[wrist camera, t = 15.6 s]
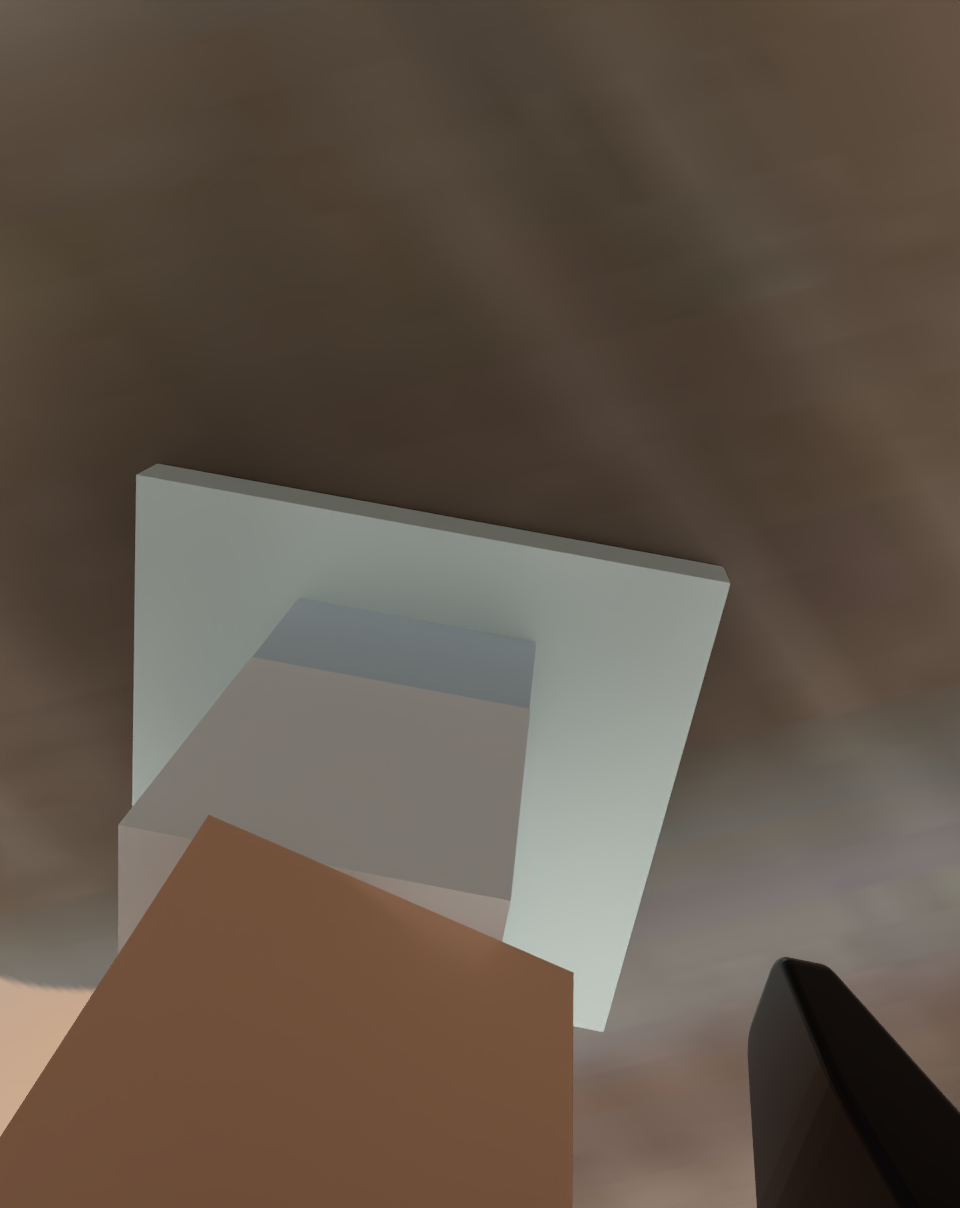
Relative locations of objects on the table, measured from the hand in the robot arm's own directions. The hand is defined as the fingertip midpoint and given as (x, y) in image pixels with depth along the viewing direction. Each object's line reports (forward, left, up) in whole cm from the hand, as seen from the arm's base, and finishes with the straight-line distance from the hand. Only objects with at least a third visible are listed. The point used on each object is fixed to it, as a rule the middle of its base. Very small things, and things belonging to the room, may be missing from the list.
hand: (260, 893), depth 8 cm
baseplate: (0, +6, -12) cm, 13 cm away
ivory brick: (0, +6, -8) cm, 10 cm away
